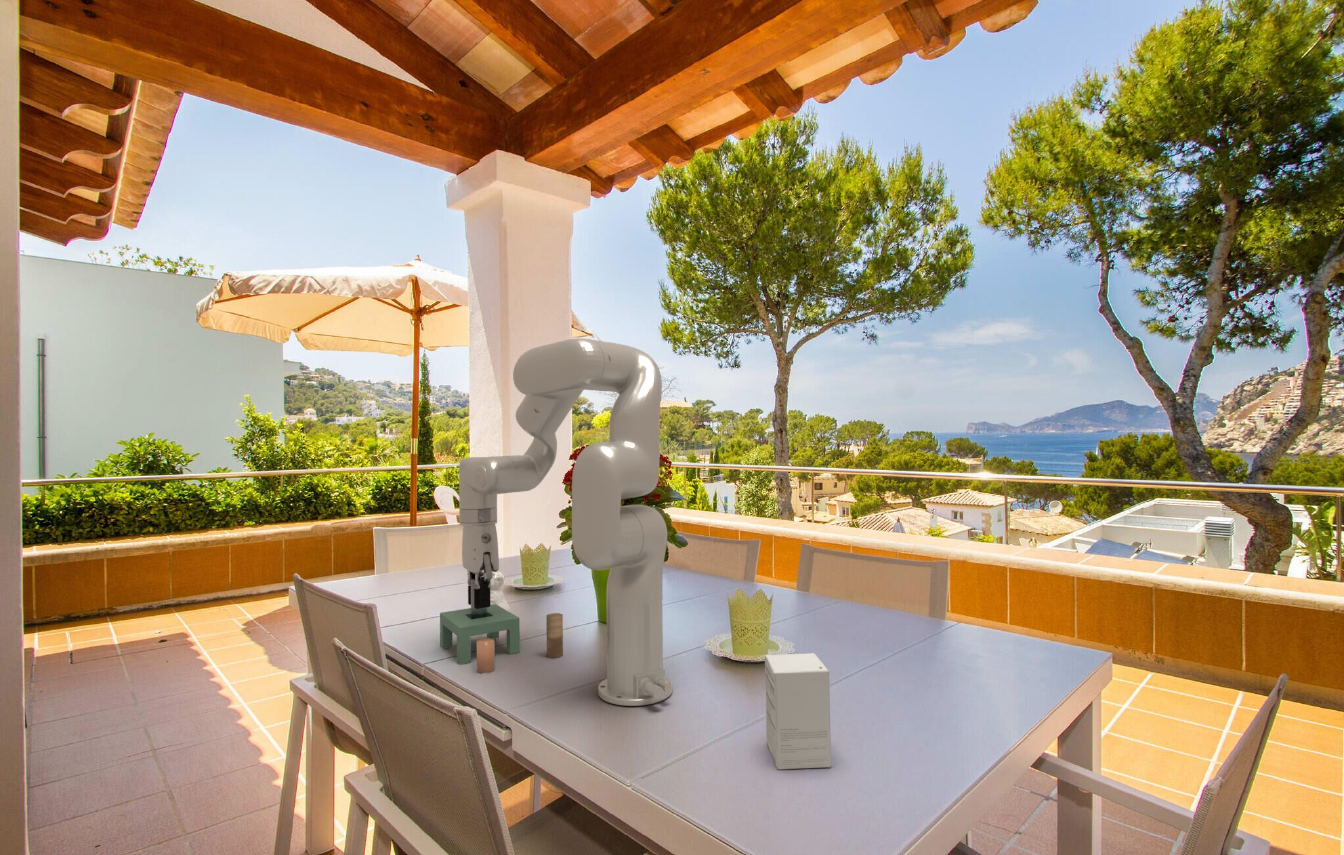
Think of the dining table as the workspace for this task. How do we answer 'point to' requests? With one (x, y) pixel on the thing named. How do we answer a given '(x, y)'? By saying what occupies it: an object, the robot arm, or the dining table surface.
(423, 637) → the dining table surface
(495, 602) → the white creature statuette
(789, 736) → the supplement box
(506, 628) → the hole bridge
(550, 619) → the medium pin
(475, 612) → the long pin
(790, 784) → the dining table surface
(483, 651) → the short pin
